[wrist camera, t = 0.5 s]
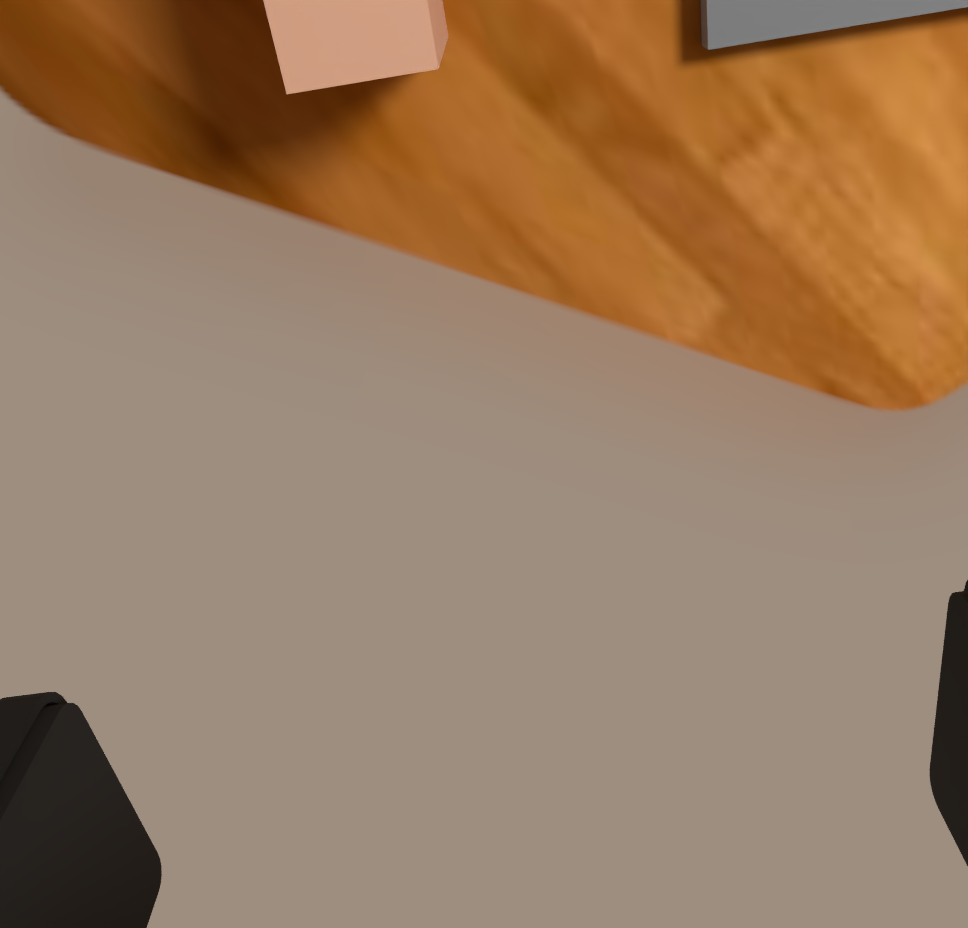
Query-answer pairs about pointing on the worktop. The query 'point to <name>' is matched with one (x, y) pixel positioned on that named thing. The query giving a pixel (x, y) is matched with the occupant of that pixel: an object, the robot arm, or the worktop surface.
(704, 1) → the nest board
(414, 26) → the key block
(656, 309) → the worktop surface
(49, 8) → the worktop surface
